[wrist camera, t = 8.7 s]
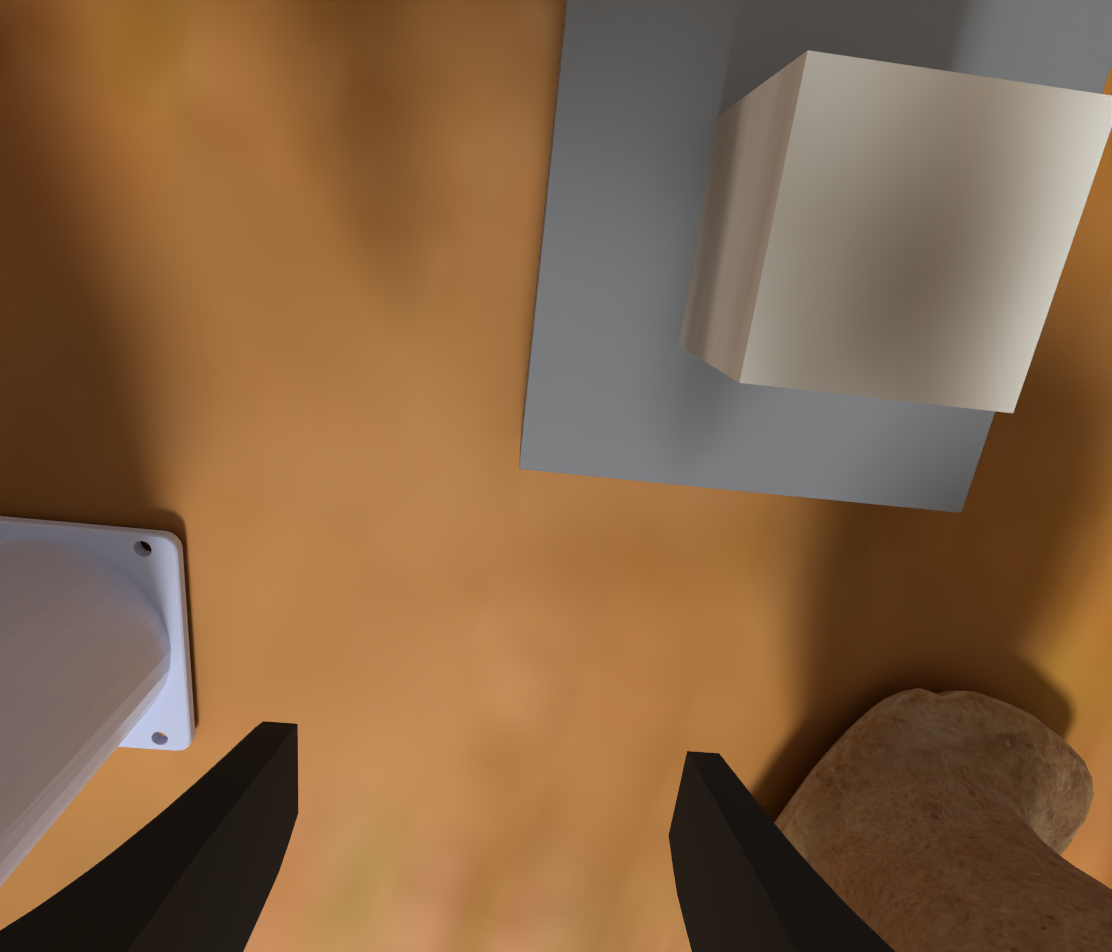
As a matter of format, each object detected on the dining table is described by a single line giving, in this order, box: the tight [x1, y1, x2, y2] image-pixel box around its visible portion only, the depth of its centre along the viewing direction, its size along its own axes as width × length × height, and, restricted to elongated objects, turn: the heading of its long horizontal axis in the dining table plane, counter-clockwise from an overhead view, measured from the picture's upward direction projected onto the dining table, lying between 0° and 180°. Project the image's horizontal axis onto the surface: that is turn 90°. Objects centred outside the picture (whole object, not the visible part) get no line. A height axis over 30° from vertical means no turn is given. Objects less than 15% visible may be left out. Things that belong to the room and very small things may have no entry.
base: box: [519, 0, 1112, 513], centre depth 17 cm, size 12×12×3 cm
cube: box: [678, 50, 1112, 413], centre depth 13 cm, size 5×5×5 cm
